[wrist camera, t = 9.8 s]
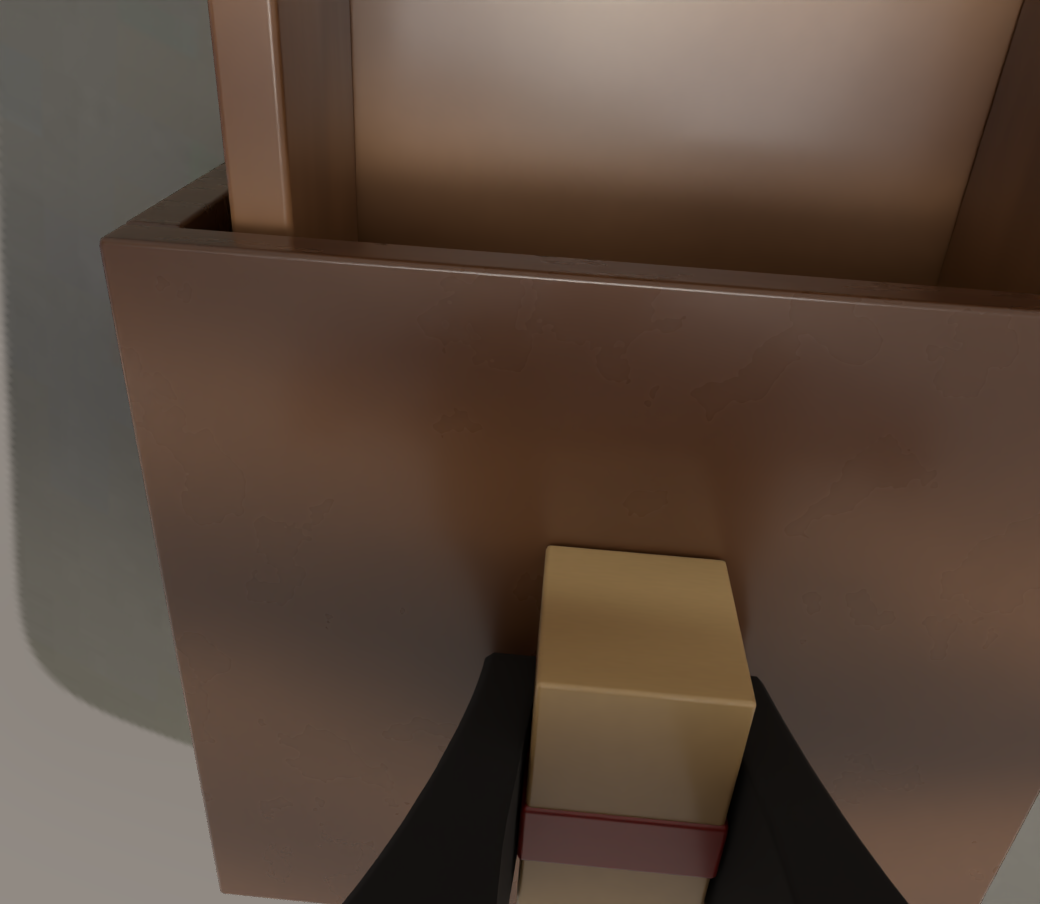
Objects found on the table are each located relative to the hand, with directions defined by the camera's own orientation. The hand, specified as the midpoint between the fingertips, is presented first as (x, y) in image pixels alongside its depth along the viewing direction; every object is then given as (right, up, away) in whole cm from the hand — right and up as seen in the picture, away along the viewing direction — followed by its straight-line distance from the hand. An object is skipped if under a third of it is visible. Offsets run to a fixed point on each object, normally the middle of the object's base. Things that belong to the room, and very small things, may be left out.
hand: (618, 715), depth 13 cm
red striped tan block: (0, 0, +1) cm, 0 cm away
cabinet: (0, +3, +6) cm, 7 cm away
